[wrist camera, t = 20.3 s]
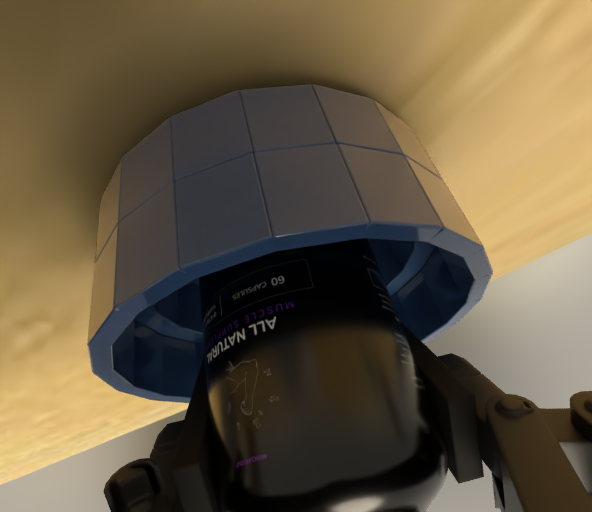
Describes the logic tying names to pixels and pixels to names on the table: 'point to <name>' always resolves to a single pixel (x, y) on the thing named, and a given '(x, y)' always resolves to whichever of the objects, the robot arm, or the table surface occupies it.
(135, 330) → the bowl
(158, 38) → the table surface
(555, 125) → the table surface
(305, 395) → the supplement bottle
